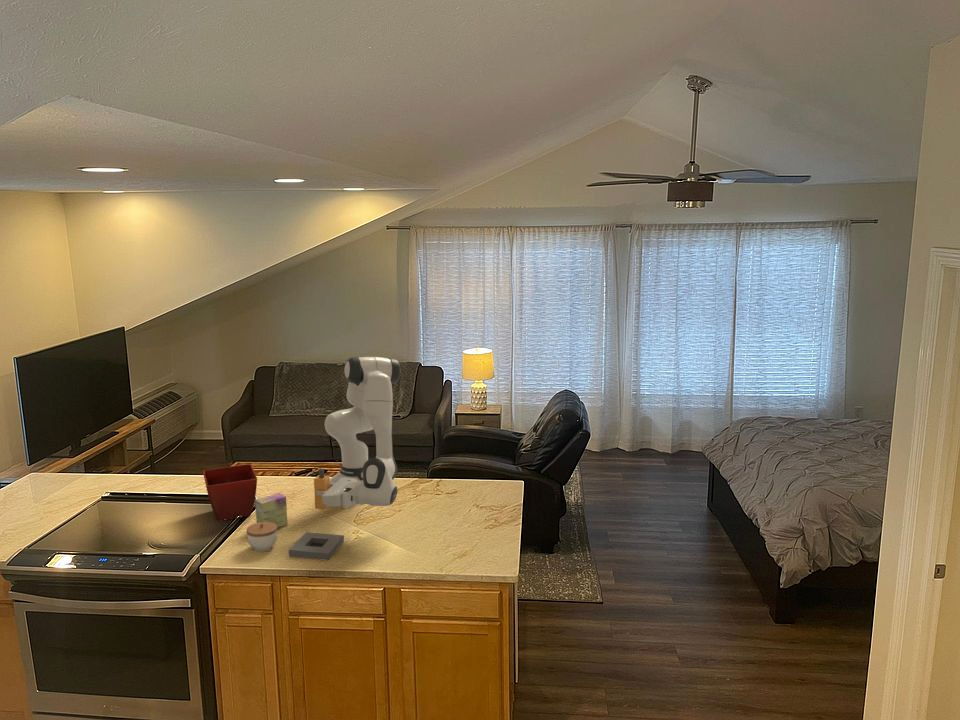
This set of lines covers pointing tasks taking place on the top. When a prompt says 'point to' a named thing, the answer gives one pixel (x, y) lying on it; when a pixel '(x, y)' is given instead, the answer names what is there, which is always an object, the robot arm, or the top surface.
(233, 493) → the plant pot
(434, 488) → the top surface
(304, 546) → the socket
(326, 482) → the plug
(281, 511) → the box
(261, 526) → the lidded jar
